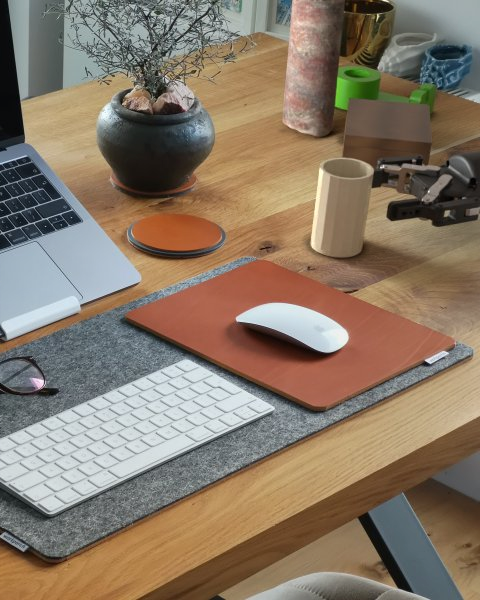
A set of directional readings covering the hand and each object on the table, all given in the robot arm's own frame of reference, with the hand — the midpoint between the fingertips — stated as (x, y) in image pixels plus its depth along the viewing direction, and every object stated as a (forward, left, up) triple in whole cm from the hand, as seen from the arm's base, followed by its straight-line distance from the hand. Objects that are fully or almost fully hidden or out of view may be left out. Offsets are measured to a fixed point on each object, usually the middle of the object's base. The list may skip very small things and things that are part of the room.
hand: (370, 196), depth 130 cm
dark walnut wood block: (-2, -25, -6) cm, 26 cm away
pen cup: (+3, +2, -6) cm, 7 cm away
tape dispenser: (-1, -45, -6) cm, 46 cm away
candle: (+9, -34, -6) cm, 36 cm away
